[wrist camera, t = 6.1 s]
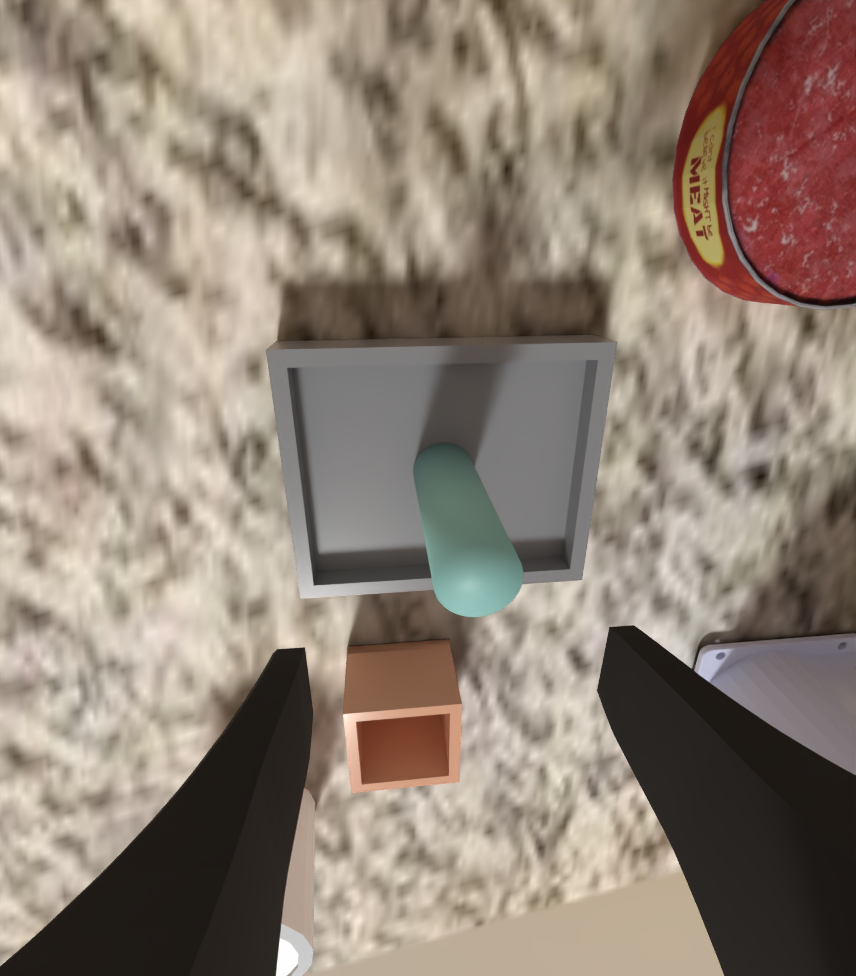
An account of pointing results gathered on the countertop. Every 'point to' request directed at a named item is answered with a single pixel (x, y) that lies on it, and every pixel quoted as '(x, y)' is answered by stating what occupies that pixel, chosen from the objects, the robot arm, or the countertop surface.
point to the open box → (402, 715)
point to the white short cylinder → (299, 897)
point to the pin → (463, 535)
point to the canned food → (775, 158)
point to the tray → (429, 420)
